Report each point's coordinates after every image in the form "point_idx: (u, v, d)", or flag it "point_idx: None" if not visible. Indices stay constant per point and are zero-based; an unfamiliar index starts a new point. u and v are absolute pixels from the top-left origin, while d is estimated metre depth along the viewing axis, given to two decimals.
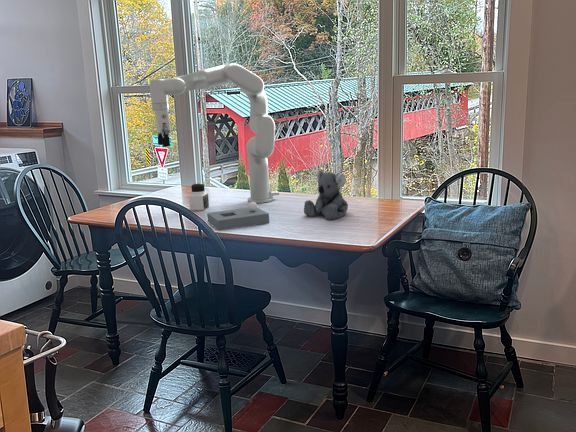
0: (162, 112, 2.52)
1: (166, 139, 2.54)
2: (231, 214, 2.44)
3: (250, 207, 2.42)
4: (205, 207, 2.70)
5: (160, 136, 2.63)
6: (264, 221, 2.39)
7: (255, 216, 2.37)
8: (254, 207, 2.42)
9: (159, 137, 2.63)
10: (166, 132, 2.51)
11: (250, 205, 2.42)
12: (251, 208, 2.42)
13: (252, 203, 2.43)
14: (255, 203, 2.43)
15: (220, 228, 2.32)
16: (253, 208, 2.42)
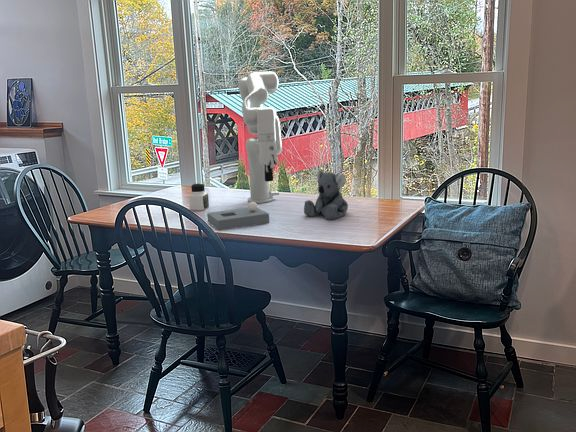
0: (270, 143, 2.37)
1: (270, 173, 2.42)
2: (231, 214, 2.44)
3: (250, 207, 2.42)
4: (205, 207, 2.70)
5: None
6: (264, 221, 2.39)
7: (255, 216, 2.37)
8: (254, 207, 2.42)
9: None
10: (271, 168, 2.40)
11: (250, 205, 2.42)
12: (251, 208, 2.42)
13: (252, 203, 2.43)
14: (255, 203, 2.43)
15: (220, 228, 2.32)
16: (253, 208, 2.42)
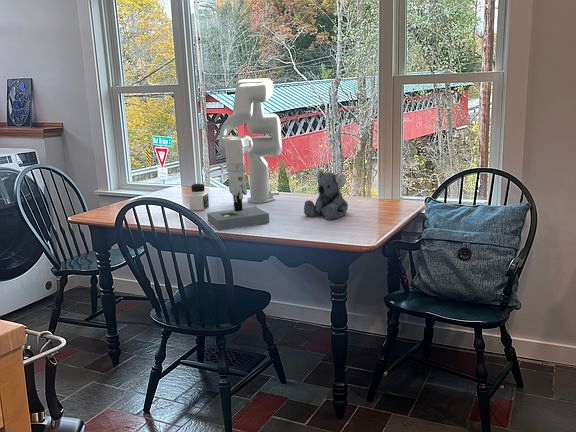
0: (238, 174, 2.34)
1: (239, 204, 2.40)
2: (231, 214, 2.44)
3: None
4: (205, 207, 2.70)
5: None
6: (264, 221, 2.39)
7: (255, 216, 2.37)
8: None
9: None
10: (240, 199, 2.37)
11: None
12: None
13: None
14: None
15: (220, 228, 2.32)
16: None
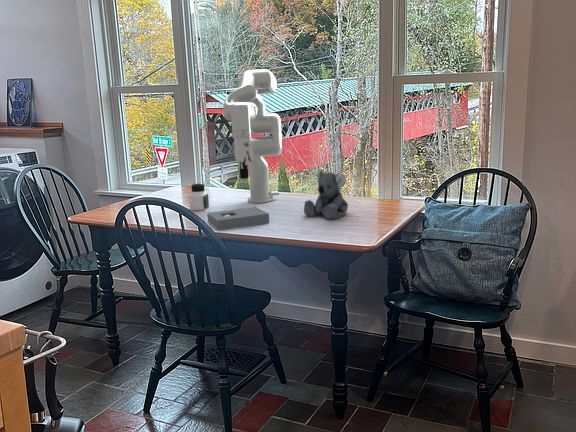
0: (244, 140, 2.32)
1: (245, 170, 2.38)
2: (231, 214, 2.44)
3: None
4: (205, 207, 2.70)
5: None
6: (264, 221, 2.39)
7: (255, 216, 2.37)
8: None
9: None
10: (246, 165, 2.36)
11: None
12: None
13: None
14: None
15: (220, 228, 2.32)
16: None
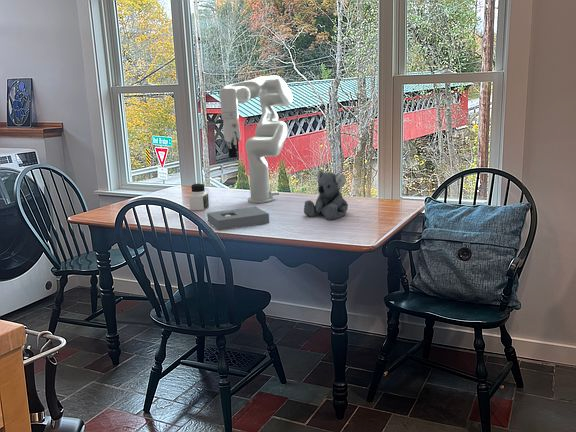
0: (233, 121, 2.49)
1: (233, 150, 2.55)
2: (231, 214, 2.44)
3: None
4: (205, 207, 2.70)
5: None
6: (264, 221, 2.39)
7: (255, 216, 2.37)
8: None
9: None
10: (234, 145, 2.53)
11: None
12: None
13: None
14: None
15: (220, 228, 2.32)
16: None
